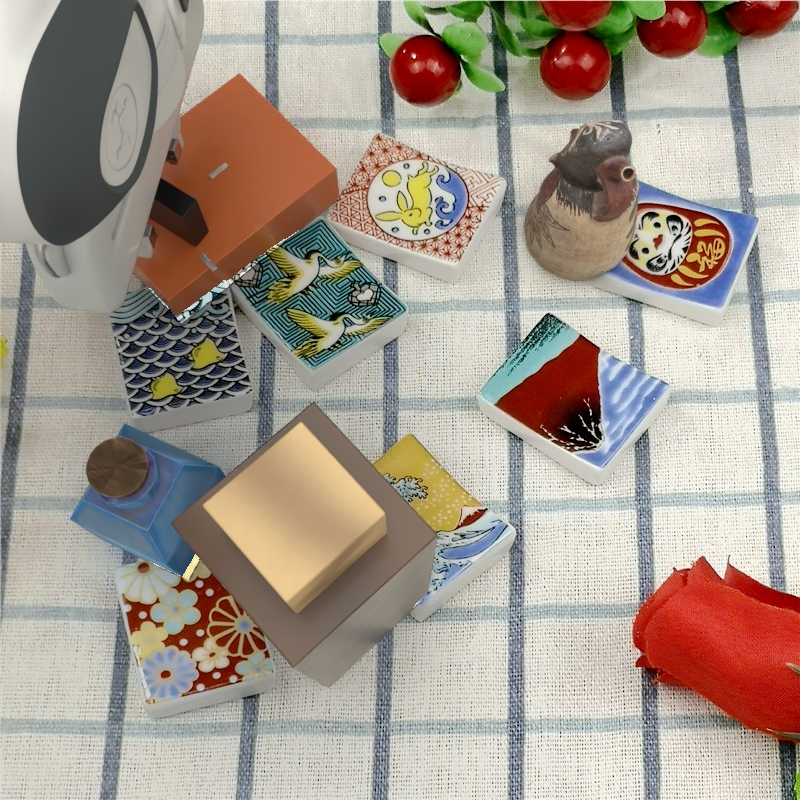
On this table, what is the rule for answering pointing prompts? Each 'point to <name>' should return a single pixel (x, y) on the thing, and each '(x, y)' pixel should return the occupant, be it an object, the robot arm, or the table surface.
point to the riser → (346, 596)
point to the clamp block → (236, 192)
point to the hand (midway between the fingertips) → (156, 199)
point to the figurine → (585, 204)
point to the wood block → (298, 516)
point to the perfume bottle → (143, 496)
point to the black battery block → (178, 213)
